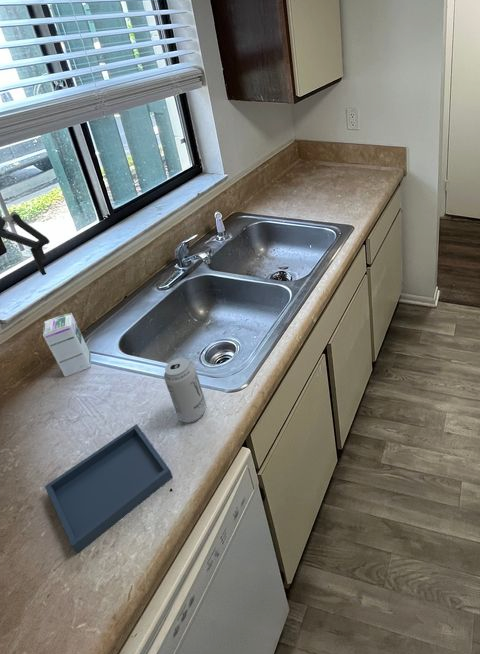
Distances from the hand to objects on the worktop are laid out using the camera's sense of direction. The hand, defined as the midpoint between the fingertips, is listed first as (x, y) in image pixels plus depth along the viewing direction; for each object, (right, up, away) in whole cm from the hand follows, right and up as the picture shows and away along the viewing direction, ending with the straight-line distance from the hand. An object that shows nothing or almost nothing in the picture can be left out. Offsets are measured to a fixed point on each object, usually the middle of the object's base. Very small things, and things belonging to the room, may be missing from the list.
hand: (7, 286), depth 101 cm
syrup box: (+8, -23, +12) cm, 27 cm away
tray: (+35, -36, -16) cm, 52 cm away
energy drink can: (+44, -29, -1) cm, 53 cm away
